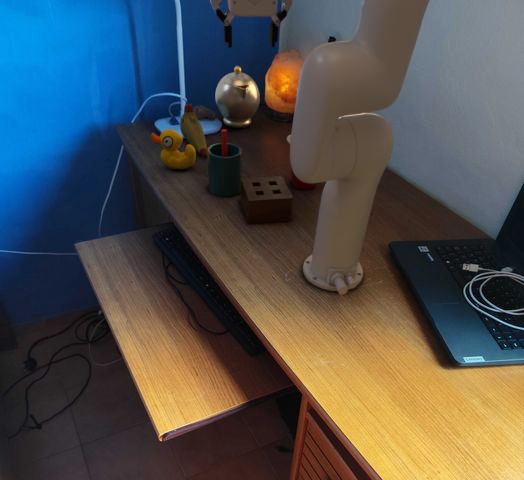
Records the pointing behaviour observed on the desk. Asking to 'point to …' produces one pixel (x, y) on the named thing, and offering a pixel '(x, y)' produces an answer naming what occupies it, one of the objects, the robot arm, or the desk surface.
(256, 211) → the straw stand
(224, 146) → the straw
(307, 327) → the desk surface
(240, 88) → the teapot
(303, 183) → the plastic cup
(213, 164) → the tumbler
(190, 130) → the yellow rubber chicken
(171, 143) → the duckling
